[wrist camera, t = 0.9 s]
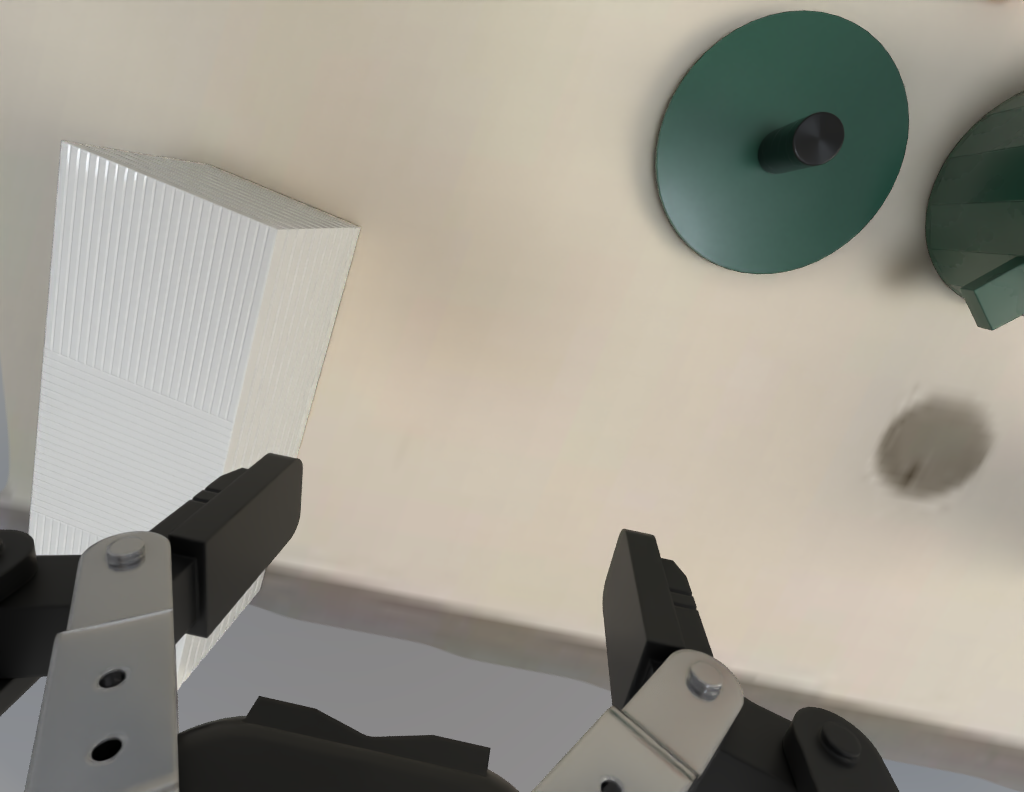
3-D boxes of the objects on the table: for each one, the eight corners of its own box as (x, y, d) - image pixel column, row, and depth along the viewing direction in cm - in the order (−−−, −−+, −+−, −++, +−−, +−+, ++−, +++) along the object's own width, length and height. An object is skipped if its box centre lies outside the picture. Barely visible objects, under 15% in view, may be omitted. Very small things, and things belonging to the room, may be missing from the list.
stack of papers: (260, 589, 45) (172, 696, 35) (142, 544, 45) (19, 639, 35) (361, 227, 35) (277, 229, 25) (209, 164, 34) (60, 140, 24)
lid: (610, 125, 32) (620, 104, 26) (831, -44, 28) (901, -112, 22) (722, 314, 34) (754, 333, 29) (937, 182, 31) (1022, 173, 25)
